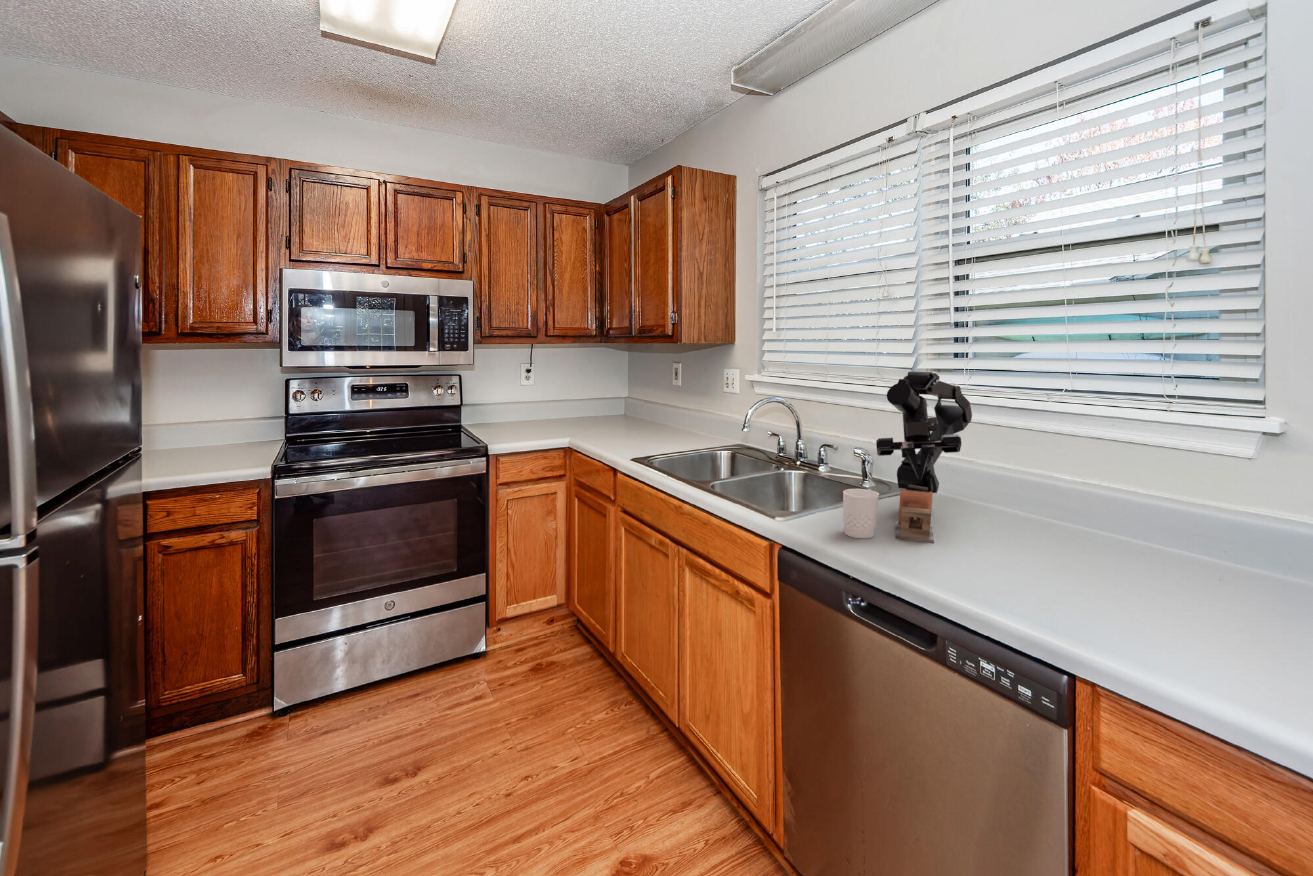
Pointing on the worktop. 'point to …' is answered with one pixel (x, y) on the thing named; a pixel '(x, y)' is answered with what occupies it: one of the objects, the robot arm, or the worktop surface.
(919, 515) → the bearing block
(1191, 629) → the worktop surface
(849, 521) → the white cup
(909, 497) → the copper wooden slab
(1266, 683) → the worktop surface
